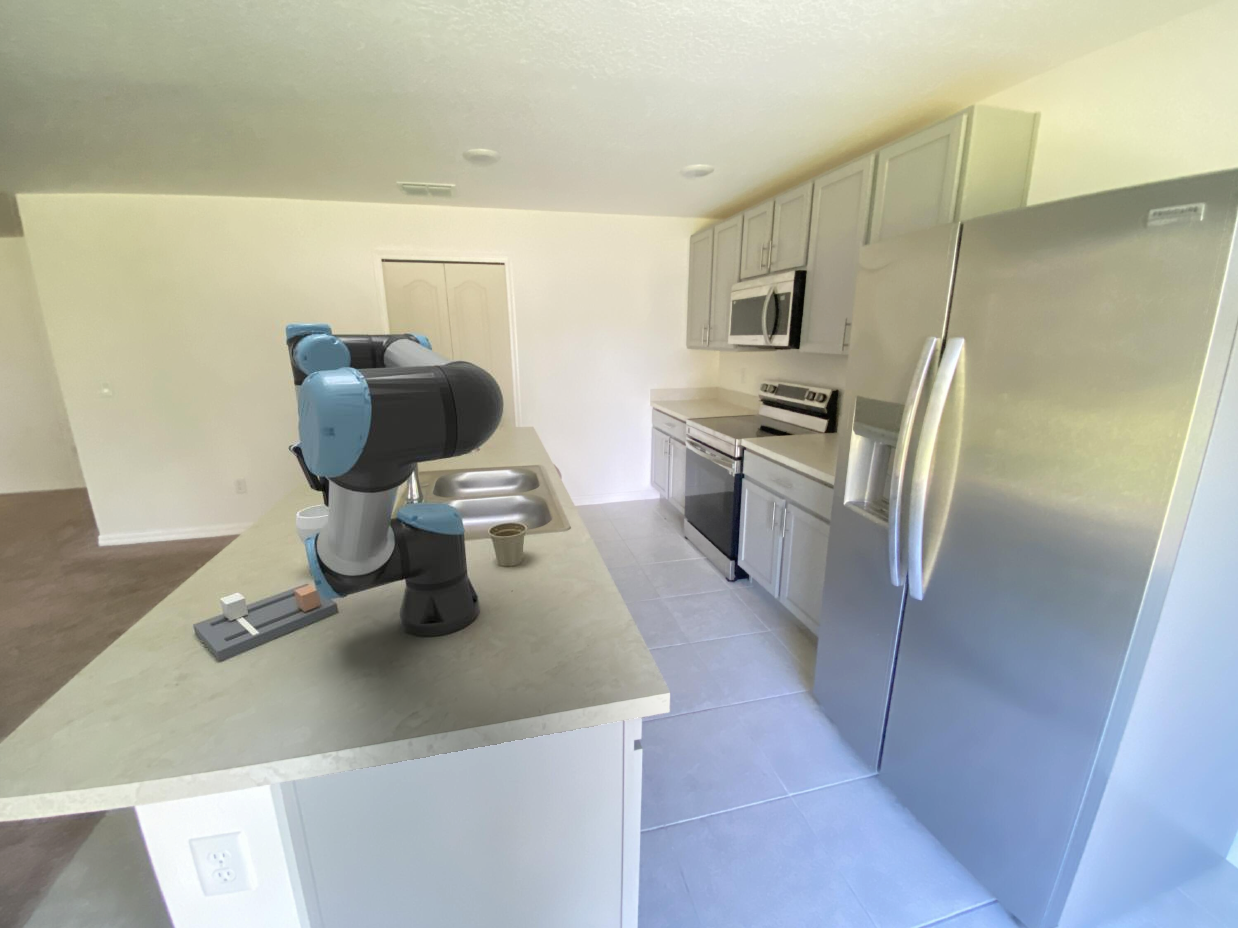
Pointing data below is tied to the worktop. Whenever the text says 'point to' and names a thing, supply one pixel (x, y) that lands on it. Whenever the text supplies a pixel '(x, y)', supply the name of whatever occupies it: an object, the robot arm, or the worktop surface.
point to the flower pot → (508, 542)
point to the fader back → (234, 606)
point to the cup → (311, 521)
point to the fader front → (307, 598)
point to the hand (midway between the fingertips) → (338, 519)
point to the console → (259, 624)
